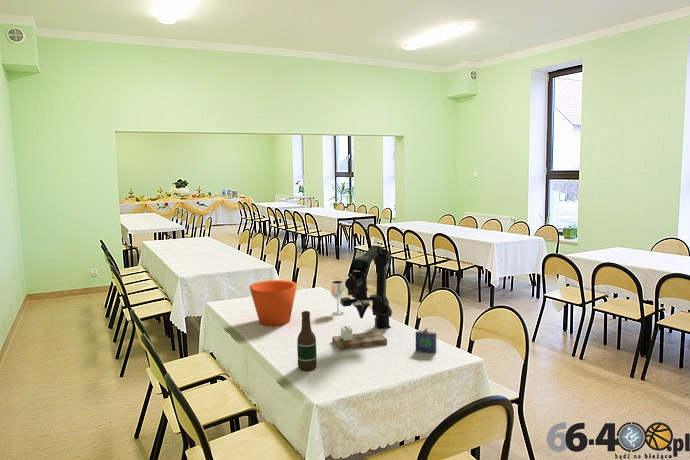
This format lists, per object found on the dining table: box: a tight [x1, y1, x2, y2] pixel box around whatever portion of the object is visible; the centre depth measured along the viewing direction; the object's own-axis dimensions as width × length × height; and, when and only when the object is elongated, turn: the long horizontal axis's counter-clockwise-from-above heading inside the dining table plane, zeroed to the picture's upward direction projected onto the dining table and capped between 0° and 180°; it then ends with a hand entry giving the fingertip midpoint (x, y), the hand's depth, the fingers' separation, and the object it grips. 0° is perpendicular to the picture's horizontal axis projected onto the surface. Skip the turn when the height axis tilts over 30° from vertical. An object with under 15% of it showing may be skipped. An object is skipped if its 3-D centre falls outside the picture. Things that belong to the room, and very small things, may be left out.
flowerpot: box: [249, 279, 298, 327], centre depth 272 cm, size 25×25×20 cm
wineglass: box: [330, 280, 346, 316], centre depth 284 cm, size 8×8×18 cm
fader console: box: [331, 330, 388, 351], centre depth 239 cm, size 23×12×3 cm, turn 107°
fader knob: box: [340, 325, 353, 341], centre depth 236 cm, size 4×5×5 cm
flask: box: [415, 327, 437, 354], centre depth 226 cm, size 9×3×11 cm, turn 74°
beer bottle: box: [296, 310, 318, 372], centre depth 210 cm, size 8×8×24 cm
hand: (361, 318), depth 238 cm, fingers closed
